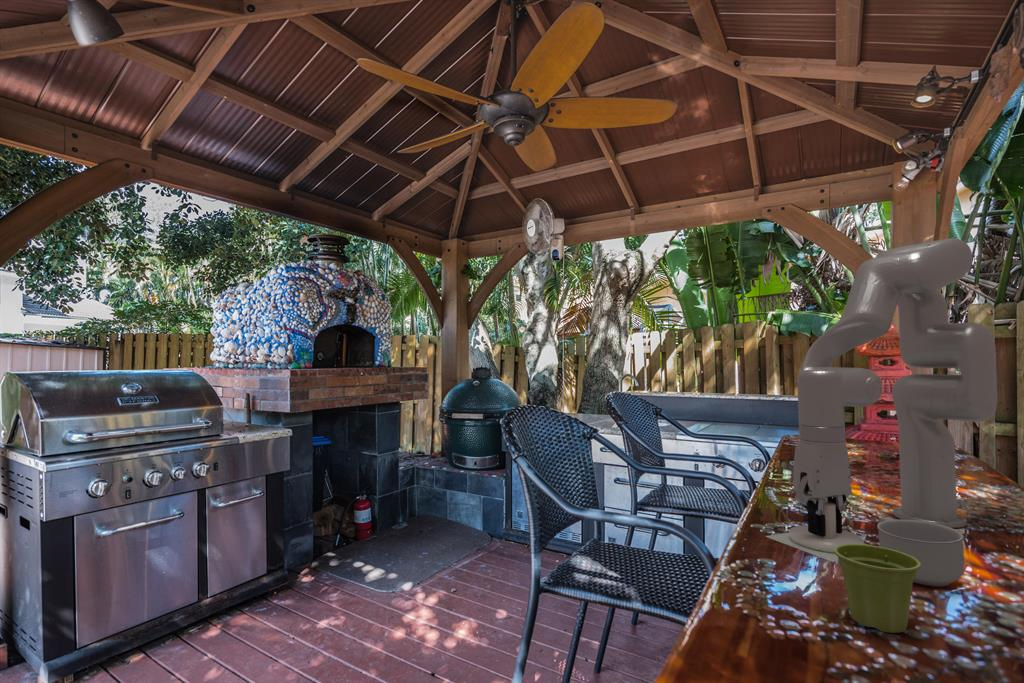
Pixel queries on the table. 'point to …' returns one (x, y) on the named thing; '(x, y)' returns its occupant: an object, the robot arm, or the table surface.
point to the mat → (786, 540)
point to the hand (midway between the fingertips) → (825, 531)
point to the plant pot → (878, 585)
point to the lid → (831, 538)
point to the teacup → (926, 548)
